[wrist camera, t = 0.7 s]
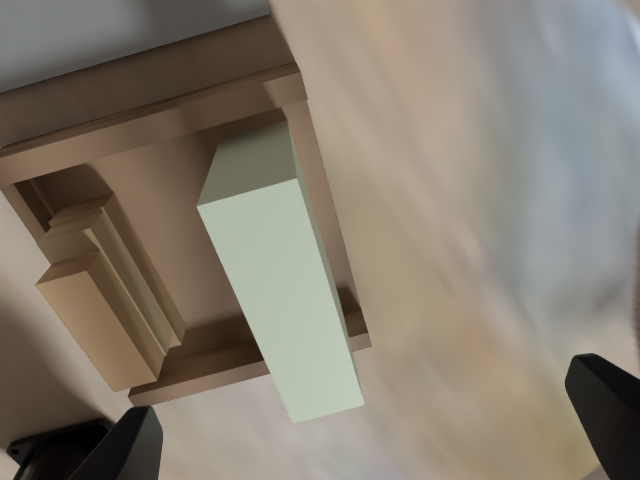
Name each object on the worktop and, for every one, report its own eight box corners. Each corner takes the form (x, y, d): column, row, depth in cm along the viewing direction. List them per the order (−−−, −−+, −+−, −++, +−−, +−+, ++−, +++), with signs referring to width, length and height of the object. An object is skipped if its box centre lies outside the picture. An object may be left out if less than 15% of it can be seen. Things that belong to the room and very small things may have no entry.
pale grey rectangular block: (286, 313, 23) (292, 423, 17) (220, 139, 18) (196, 206, 12) (339, 299, 23) (364, 404, 17) (287, 120, 18) (297, 178, 12)
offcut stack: (143, 336, 23) (118, 405, 19) (63, 207, 19) (9, 260, 15) (186, 325, 23) (169, 391, 19) (114, 192, 19) (74, 241, 15)
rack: (150, 367, 25) (136, 409, 23) (7, 145, 18) (-36, 168, 16) (361, 310, 25) (372, 346, 22) (295, 61, 18) (300, 71, 15)
